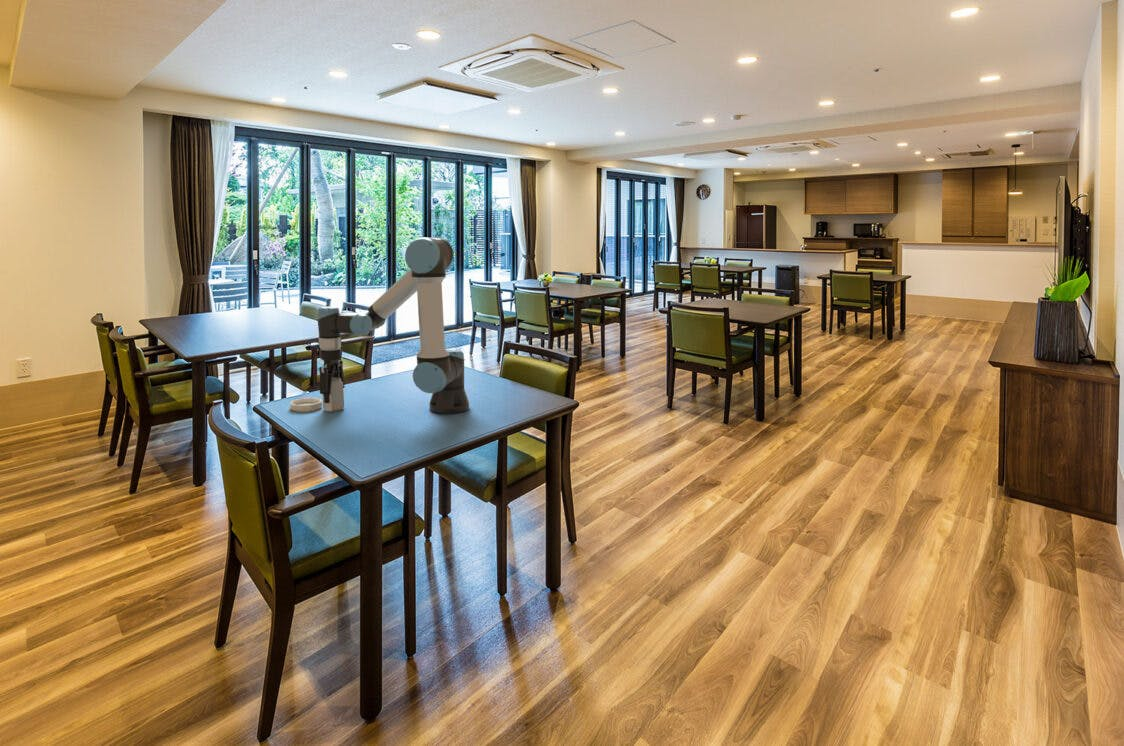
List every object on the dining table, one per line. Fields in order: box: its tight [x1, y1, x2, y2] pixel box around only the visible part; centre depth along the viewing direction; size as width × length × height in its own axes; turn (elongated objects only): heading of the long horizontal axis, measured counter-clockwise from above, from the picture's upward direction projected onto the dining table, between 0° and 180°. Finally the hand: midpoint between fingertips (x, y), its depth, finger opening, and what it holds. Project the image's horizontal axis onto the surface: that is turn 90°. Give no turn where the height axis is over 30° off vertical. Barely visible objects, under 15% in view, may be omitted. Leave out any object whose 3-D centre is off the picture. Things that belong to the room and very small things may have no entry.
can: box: [321, 377, 345, 412], centre depth 232 cm, size 8×8×12 cm
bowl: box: [290, 397, 323, 413], centre depth 234 cm, size 11×11×2 cm
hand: (333, 407), depth 233 cm, fingers closed on can, 7 cm apart
